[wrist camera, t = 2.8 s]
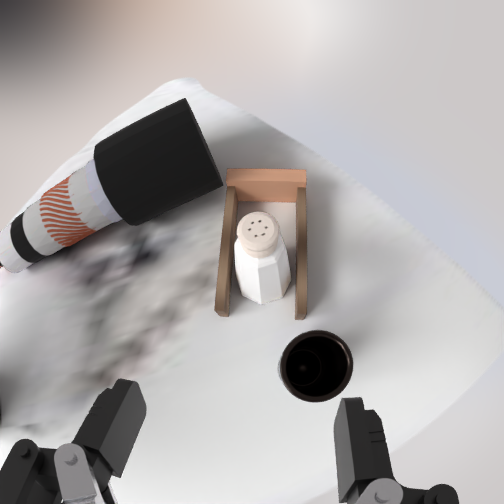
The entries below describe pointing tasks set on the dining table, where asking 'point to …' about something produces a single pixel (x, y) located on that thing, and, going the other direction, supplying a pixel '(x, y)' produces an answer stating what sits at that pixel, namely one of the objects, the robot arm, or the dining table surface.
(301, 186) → the guide channel
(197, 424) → the dining table surface
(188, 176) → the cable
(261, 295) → the pepper shaker
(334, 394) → the planter
